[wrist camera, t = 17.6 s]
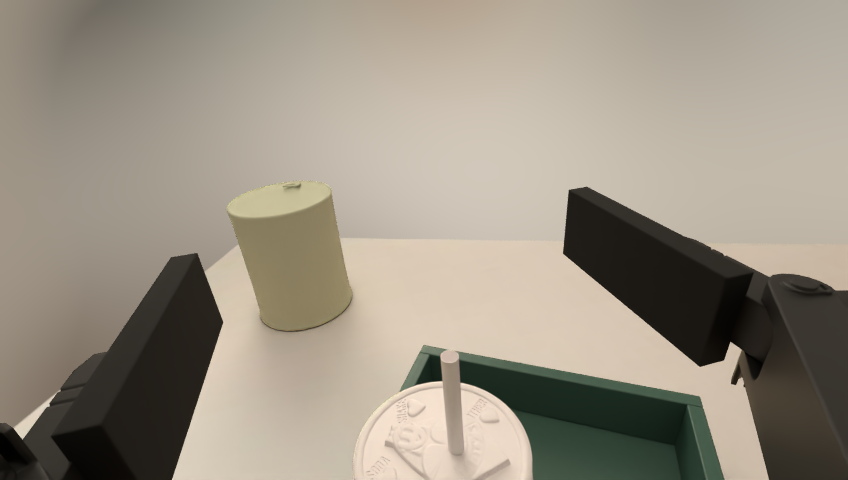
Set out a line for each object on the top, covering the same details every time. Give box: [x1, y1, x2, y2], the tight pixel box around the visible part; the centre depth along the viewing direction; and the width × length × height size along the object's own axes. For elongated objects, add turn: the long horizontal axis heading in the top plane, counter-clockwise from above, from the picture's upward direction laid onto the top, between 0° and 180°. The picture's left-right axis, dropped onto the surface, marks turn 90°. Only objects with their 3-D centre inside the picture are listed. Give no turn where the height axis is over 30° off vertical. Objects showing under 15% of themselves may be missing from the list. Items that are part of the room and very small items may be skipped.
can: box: [227, 181, 352, 331], centre depth 39 cm, size 9×9×12 cm
